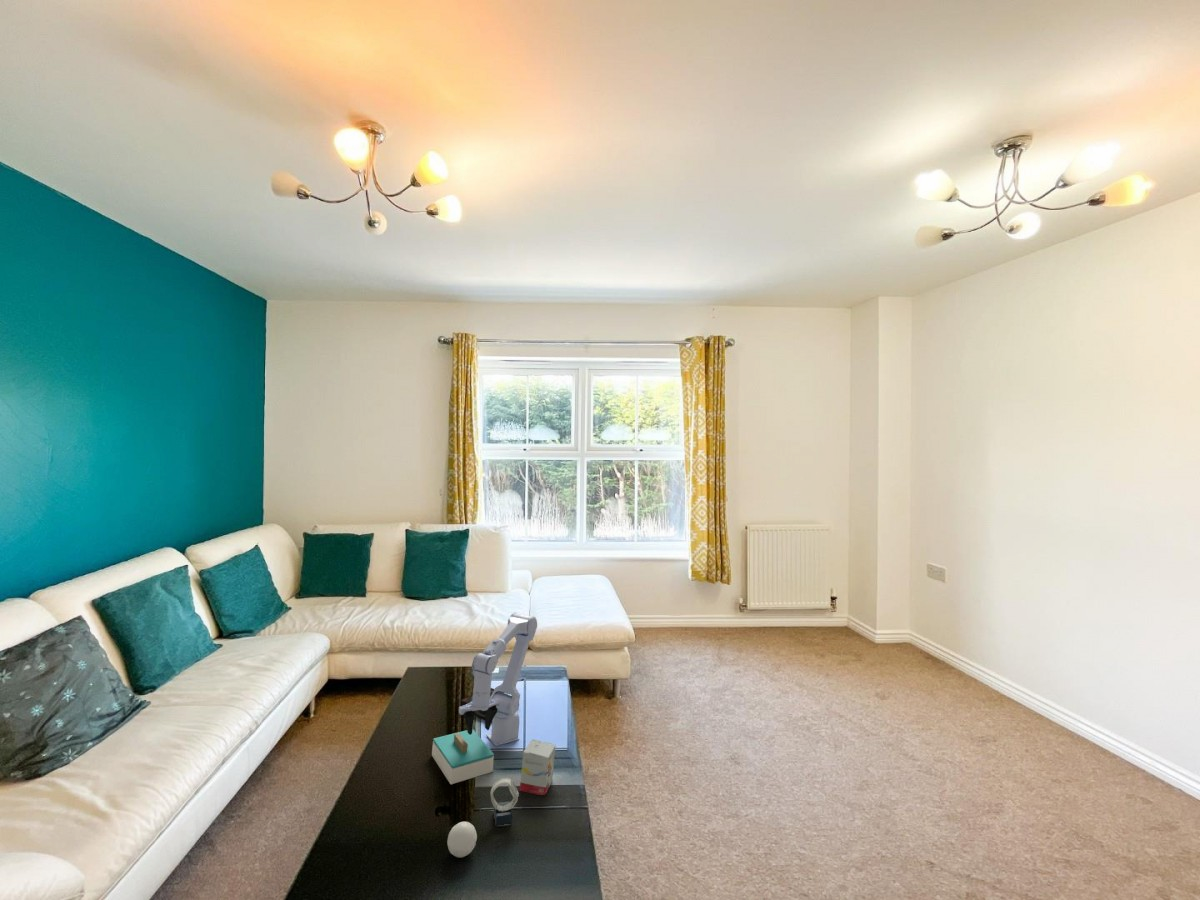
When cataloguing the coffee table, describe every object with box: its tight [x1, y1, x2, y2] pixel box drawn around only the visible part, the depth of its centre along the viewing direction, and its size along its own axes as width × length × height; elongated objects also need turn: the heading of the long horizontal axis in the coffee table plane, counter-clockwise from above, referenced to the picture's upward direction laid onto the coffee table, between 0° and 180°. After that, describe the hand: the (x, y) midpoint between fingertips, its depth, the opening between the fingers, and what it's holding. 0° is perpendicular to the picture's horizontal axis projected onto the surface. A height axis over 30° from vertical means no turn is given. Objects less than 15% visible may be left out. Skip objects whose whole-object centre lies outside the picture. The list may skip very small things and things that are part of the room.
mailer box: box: [431, 741, 495, 785], centre depth 170 cm, size 14×18×5 cm
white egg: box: [446, 821, 478, 858], centre depth 133 cm, size 10×7×7 cm
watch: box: [489, 777, 520, 826], centre depth 145 cm, size 6×8×11 cm
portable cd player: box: [459, 687, 511, 721], centre depth 209 cm, size 16×17×4 cm
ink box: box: [519, 739, 557, 796], centre depth 162 cm, size 9×9×12 cm
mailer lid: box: [432, 728, 495, 768], centre depth 170 cm, size 14×18×3 cm
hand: (478, 731), depth 173 cm, fingers open, 6 cm apart
